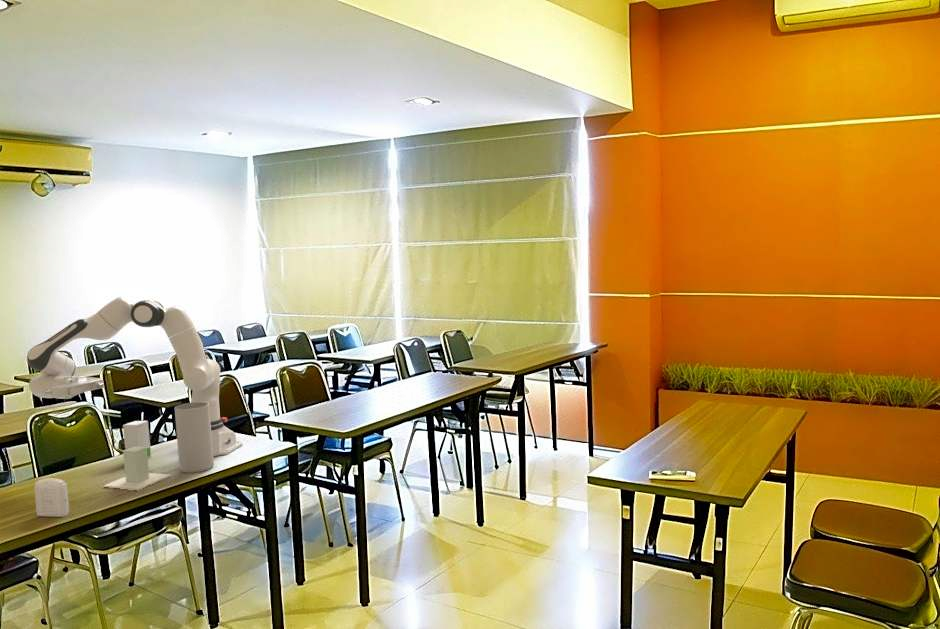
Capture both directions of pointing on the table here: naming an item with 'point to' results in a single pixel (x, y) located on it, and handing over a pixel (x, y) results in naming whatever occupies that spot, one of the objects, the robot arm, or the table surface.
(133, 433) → the skincare box
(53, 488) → the photo printer
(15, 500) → the table surface
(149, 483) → the dock
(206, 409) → the cylinder vase
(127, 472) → the light grey tall block
